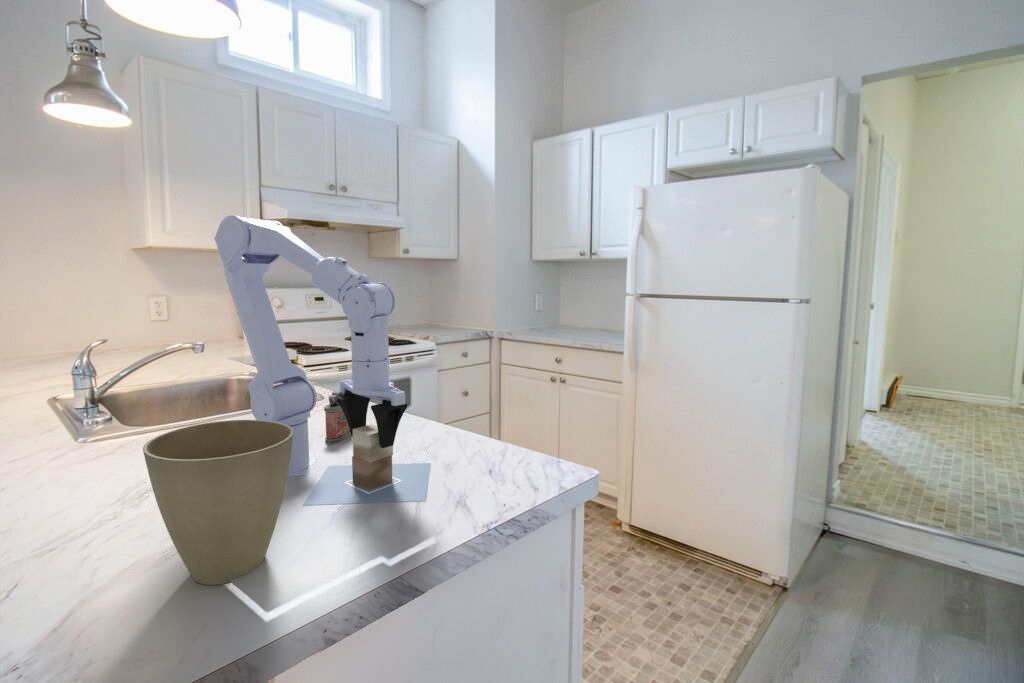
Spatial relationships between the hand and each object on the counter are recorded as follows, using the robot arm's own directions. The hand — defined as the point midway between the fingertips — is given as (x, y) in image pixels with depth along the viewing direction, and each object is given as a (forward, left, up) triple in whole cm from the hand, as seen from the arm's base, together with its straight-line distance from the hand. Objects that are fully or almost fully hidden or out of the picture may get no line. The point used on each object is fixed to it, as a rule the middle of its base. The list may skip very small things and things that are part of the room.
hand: (372, 441), depth 84 cm
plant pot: (-13, -23, -8) cm, 28 cm away
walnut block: (0, 0, -7) cm, 7 cm away
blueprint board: (0, 0, -8) cm, 8 cm away
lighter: (-11, +26, -8) cm, 29 cm away
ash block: (0, 0, -2) cm, 2 cm away
